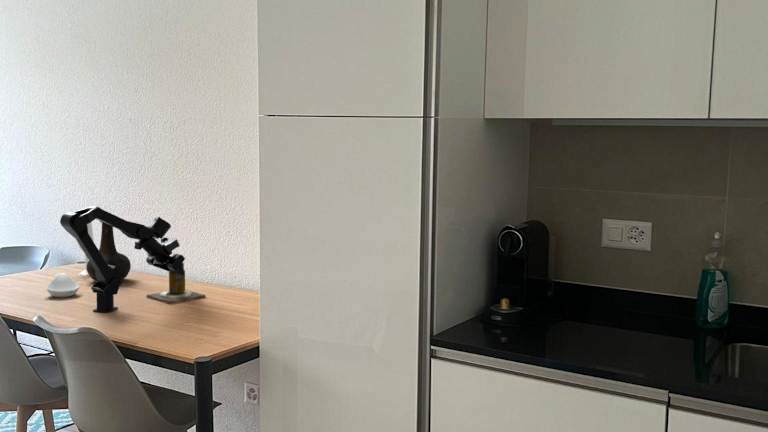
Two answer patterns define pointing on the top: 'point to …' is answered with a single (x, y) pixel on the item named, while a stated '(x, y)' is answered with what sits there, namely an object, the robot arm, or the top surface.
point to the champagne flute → (83, 251)
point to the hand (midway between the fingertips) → (178, 272)
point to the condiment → (176, 283)
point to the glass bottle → (110, 254)
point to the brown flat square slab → (175, 297)
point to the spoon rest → (62, 286)
